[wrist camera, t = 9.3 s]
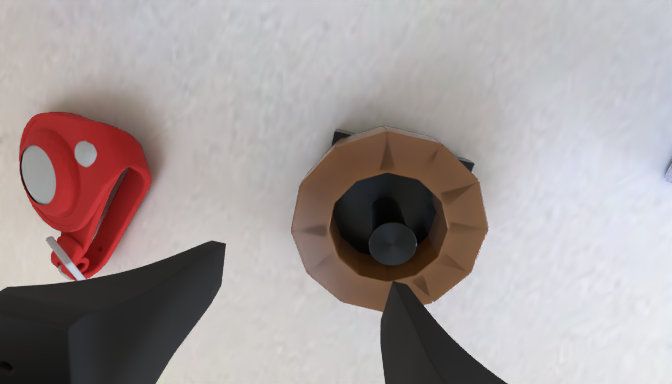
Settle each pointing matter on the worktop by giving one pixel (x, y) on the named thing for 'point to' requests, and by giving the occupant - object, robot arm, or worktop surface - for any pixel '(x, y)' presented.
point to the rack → (386, 214)
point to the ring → (430, 255)
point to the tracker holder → (81, 186)
